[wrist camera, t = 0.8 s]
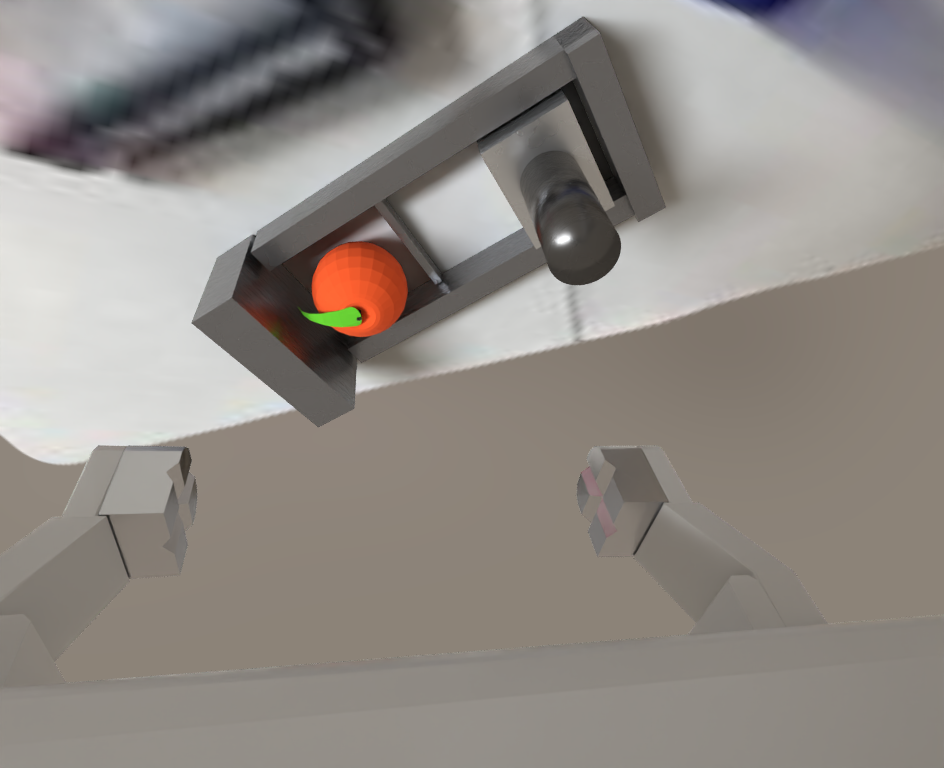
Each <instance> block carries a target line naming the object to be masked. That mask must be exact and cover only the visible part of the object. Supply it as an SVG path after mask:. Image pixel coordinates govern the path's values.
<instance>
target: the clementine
mask: <svg viewBox="0 0 944 768" xmlns="http://www.w3.org/2000/svg"><path fill="white" fill-rule="evenodd" d="M407 294H408V290H407V281H406V277H405V274H404V272H403V269H402V267H401V265H400V264H399V263H398V261H397V260H396V259H395V257H393V256H392V255H391V254H390V253H389V252H387V251H386V250H385V249H384V248H382V247H380V246H377V245H375V244H373V243H368V242H363V241H358V242H348V243H345V244H341V245H339V246H338V247H336V248H334V249H332V250H331V251H329V252H328V253H327V254H326V255H325V256H324V257H323V258H322V259H321V260H320V262H319V264H318V266H317V268H316V270H315V272H314V275H313V279H312V296H313V301H314V305H315V307H316V308H317V310H318V312H319V314H309V313H306V312H303V311H302V310H301V309H300V308H299V307H298V308H299V309H300V311H301V313H302V314H303V315H304V316H305V317H306V318H308V319H309V320H311V321H313V322H316V323H319V324H322V325H326V326H331V327H332V328H334V329H335V330H337V331H339V332H341V333H344V334H347V335H350V336H356V337H366V336H372V335H375V334H379V333H381V332H383V331H385V330H387V329H388V328H389V327H391V326H392V325H393V324H394V323H395V322H396V321H397V319H398V318H399V317H400V315H401V313H402V312H403V310H404V307H405V303H406V299H407Z"/></svg>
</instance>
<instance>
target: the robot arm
mask: <svg viewBox="0 0 944 768" xmlns="http://www.w3.org/2000/svg"><path fill="white" fill-rule="evenodd" d="M587 461H588V463H589V467H588V468H587V469H585V470H584V471H583V472H581V474H580V477H579V480H578V483H577V500H578V505H579V508H580V511H581V514H582V515H583V516H584V517H585V518H587V519H588V520H589V521H590V522H591V525H590V528H589V530H588V533H589V536H590V538H591V541H592V544H593V546H594V549H595V552H596V554H597V557H633V556H634V559H635V560H636V562H637V563H638V564H639V565H640V566H641V567H642V568H643V569H644V570H645V571H646V572H647V573H648V574H649V575H650V576H651V577H652V578H653V579H654V580H655V581H656V582H657V583H658V584H659V585H660V586H661V587H662V588H663V589H664V590H665V591H666V592H667V593H668V594H669V595H670V596H671V597H672V598H673V599H674V600H675V601H676V603H678V605H679V606H680V607H681V608H682V609H683V610H684V611H685V612H686V613H687V614H688V615H689V616H690V617H691V618H692V619H693V620H694V621H695V622H696V624H695V625H694V626H693V628H692V629H691V630H690V632H689V633H688V634H687V635H676V636H664V637H650V638H638V639H625V640H612V641H600V642H586V643H573V644H561V645H548V646H536V647H522V648H509V649H496V650H484V651H471V652H458V653H447V654H432V655H420V656H408V657H395V658H381V659H369V660H355V661H343V662H331V663H317V664H304V665H292V666H279V667H265V668H254V669H253V668H252V669H240V670H227V671H214V672H201V673H188V674H176V675H163V676H150V677H136V678H123V679H111V680H97V681H86V682H71V683H66V682H65V680H64V678H63V676H62V674H61V673H60V671H59V669H58V667H57V666H56V664H55V661H56V660H57V659H58V658H59V656H60V655H61V654H62V653H63V652H64V651H65V650H66V649H67V648H68V647H69V646H70V645H71V644H72V643H73V641H75V640H76V638H77V637H78V636H79V635H80V634H81V633H82V632H83V631H84V630H85V629H86V628H87V627H88V626H89V625H90V624H91V622H92V621H93V620H94V619H95V618H96V617H97V616H98V615H99V614H100V613H101V612H102V611H103V610H104V609H105V607H106V606H107V605H108V604H109V603H110V602H111V601H112V600H113V599H114V598H115V597H116V596H117V595H118V594H119V593H120V591H121V590H122V589H123V588H124V587H125V586H126V585H127V584H128V583H129V579H136V578H150V577H163V576H164V577H165V576H179V575H180V574H181V570H182V566H183V562H184V558H185V554H186V550H187V546H188V543H187V539H186V534H185V531H187V530H188V529H189V528H190V527H191V526H192V525H193V522H194V517H195V513H196V504H197V485H196V479H195V476H193V475H192V474H191V473H190V472H189V469H190V466H191V462H192V459H191V455H190V451H189V448H187V447H168V446H167V447H166V446H163V447H162V446H100V445H98V446H97V447H96V448H95V449H94V450H93V451H92V452H91V454H90V457H89V459H88V461H87V463H86V465H85V467H84V470H83V472H82V474H81V476H80V478H79V480H78V482H77V485H76V487H75V489H74V491H73V493H72V495H71V498H70V500H69V502H68V504H67V506H66V508H65V510H64V513H63V515H62V517H52V518H50V519H49V520H48V521H46V522H45V523H43V524H42V525H41V526H39V527H38V528H36V529H35V530H34V531H32V532H31V533H30V534H28V535H27V536H25V537H24V538H23V539H21V540H20V541H19V542H17V543H16V544H14V545H13V546H12V547H10V548H9V549H7V550H6V551H5V552H3V553H2V554H1V555H0V768H944V615H933V616H920V617H908V618H896V619H882V620H869V621H857V622H844V623H832V624H828V623H827V622H826V620H825V619H824V617H823V616H822V614H821V613H820V611H819V609H818V608H817V606H816V605H815V603H814V602H813V600H812V598H811V597H810V595H809V594H808V592H807V591H806V589H805V588H804V586H803V584H802V583H801V581H800V580H799V578H798V577H797V575H796V574H795V572H794V571H793V570H792V569H790V568H789V567H787V566H786V565H785V564H783V563H782V562H781V561H779V560H778V559H776V558H775V557H774V556H772V555H771V554H770V553H768V552H767V551H765V550H764V549H763V548H761V547H760V546H759V545H757V544H756V543H754V542H753V541H752V540H750V539H749V538H747V537H746V536H745V535H743V534H742V533H741V532H739V531H738V530H736V529H735V528H734V527H732V526H731V525H729V524H728V523H727V522H725V521H724V520H723V519H721V518H720V517H719V516H717V515H716V514H714V513H713V512H712V511H710V510H709V509H707V508H706V507H705V506H703V505H702V504H701V503H699V502H692V500H691V499H690V497H689V495H688V493H687V491H686V489H685V488H684V486H683V484H682V482H681V481H680V479H679V477H678V475H677V473H676V472H675V470H674V468H673V466H672V464H671V463H670V461H669V459H668V457H667V456H666V454H665V452H664V450H663V449H662V448H661V447H659V446H595V447H593V448H592V449H591V450H590V452H589V454H588V456H587Z"/></svg>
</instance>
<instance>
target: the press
mask: <svg viewBox="0 0 944 768" xmlns="http://www.w3.org/2000/svg"><path fill="white" fill-rule="evenodd" d="M570 81H573V83H574V85H575V88H576V90H577V92H578V95H579V97H580V99H581V102H582V104H583V106H584V109H585V111H586V113H587V116H588V118H589V120H590V123H591V125H592V127H593V130H594V132H595V134H596V137H597V139H598V141H599V144H600V146H601V148H602V151H603V153H604V155H605V157H606V160H607V162H608V164H609V167H610V169H611V171H612V174H613V177H612V178H610V179H608V180H606V181H605V184H606V187H607V189H608V191H609V193H610V196H611V198H612V200H613V202H614V205H615V206H614V207H612V208H610V209H609V210H607V211H605V212H606V214H607V216H608V217H609V219H610V221H611V223H612V224H613V226H615V225H617V224H619V223H620V222H622V221H624V220H626V219H628V218H630V217H632V216H633V215H634V216H635V217H636V219H637V220H638V222H639V221H641V220H643V219H645V218H647V217H648V216H650V215H652V214H654V213H656V212H658V211H660V210H662V209H663V208H665V204H664V201H663V199H662V196H661V193H660V191H659V188H658V185H657V183H656V180H655V177H654V175H653V172H652V169H651V167H650V164H649V161H648V159H647V156H646V153H645V151H644V148H643V145H642V143H641V140H640V137H639V135H638V132H637V130H636V127H635V124H634V122H633V119H632V116H631V114H630V111H629V108H628V106H627V103H626V100H625V98H624V95H623V92H622V90H621V87H620V84H619V82H618V79H617V76H616V74H615V71H614V68H613V66H612V63H611V60H610V58H609V55H608V52H607V50H606V47H605V44H604V42H603V39H602V36H601V34H600V32H599V31H598V30H596V29H595V28H594V27H593V26H592V25H591V24H590V23H589V22H588V21H587V20H586V19H585V18H584V17H581V18H580V19H578V20H577V21H575V22H574V23H572V24H571V25H569V26H568V27H566V28H565V29H563V30H562V31H560V32H559V33H557V34H556V35H554V36H553V37H551V38H550V39H548V40H547V41H545V42H544V43H542V44H541V45H539V46H537V47H536V48H534V49H533V50H531V51H530V52H528V53H527V54H525V55H524V56H522V57H521V58H519V59H518V60H516V61H515V62H513V63H512V64H510V65H509V66H507V67H506V68H504V69H503V70H501V71H500V72H498V73H497V74H495V75H494V76H492V77H491V78H489V79H488V80H486V81H484V82H483V83H481V84H480V85H478V86H477V87H475V88H474V89H472V90H471V91H469V92H468V93H466V94H465V95H463V96H462V97H460V98H459V99H457V100H456V101H454V102H453V103H451V104H450V105H448V106H447V107H445V108H444V109H442V110H441V111H439V112H438V113H436V114H434V115H433V116H431V117H430V118H428V119H427V120H425V121H424V122H422V123H421V124H419V125H418V126H416V127H415V128H413V129H412V130H410V131H409V132H407V133H406V134H404V135H403V136H401V137H400V138H398V139H397V140H395V141H394V142H392V143H391V144H389V145H388V146H386V147H384V148H383V149H381V150H380V151H378V152H377V153H375V154H374V155H372V156H371V157H369V158H368V159H366V160H365V161H363V162H362V163H360V164H359V165H357V166H356V167H354V168H353V169H351V170H350V171H348V172H347V173H345V174H344V175H342V176H341V177H339V178H338V179H336V180H334V181H333V182H331V183H330V184H328V185H327V186H325V187H324V188H322V189H321V190H319V191H318V192H316V193H315V194H313V195H312V196H310V197H309V198H307V199H306V200H304V201H303V202H301V203H300V204H298V205H297V206H295V207H294V208H292V209H291V210H289V211H288V212H286V213H285V214H283V215H281V216H280V217H278V218H277V219H275V220H274V221H272V222H271V223H269V224H268V225H266V226H265V227H263V228H262V229H260V230H259V231H258V232H257V235H256V238H255V237H254V236H253V235H251V236H250V237H248V238H247V239H245V240H244V241H242V242H241V243H239V244H238V245H236V246H235V247H233V248H231V249H230V250H228V251H227V252H225V253H224V254H222V255H221V256H219V257H218V258H217V260H216V262H215V265H214V267H213V270H212V272H211V275H210V277H209V280H208V282H207V285H206V287H205V290H204V293H203V295H202V298H201V300H200V303H199V305H198V308H197V310H196V313H195V315H194V318H193V320H192V324H193V325H195V326H196V327H197V328H198V329H199V330H201V331H202V332H203V333H204V334H205V335H207V336H208V337H209V338H210V339H212V340H213V341H214V342H215V343H216V344H218V345H219V346H220V347H221V348H223V349H224V350H225V351H226V352H227V353H229V354H230V355H231V356H232V357H233V358H235V359H236V360H237V361H238V362H240V363H241V364H242V365H243V366H244V367H246V368H247V369H248V370H249V371H250V372H252V373H253V374H254V375H255V376H257V377H258V378H259V379H260V380H261V381H263V382H264V383H265V384H266V385H268V386H269V387H270V388H271V389H272V390H274V391H275V392H276V393H277V394H278V395H280V396H281V397H282V398H283V399H285V400H286V401H287V402H288V403H289V404H291V405H292V406H293V407H294V408H295V409H297V410H298V411H299V412H301V413H302V414H303V415H304V416H305V417H307V418H308V419H309V420H310V421H311V422H313V423H314V424H315V425H316V426H317V427H320V426H322V425H324V424H326V423H328V422H330V421H331V420H333V419H335V418H337V417H339V416H341V415H343V414H345V413H347V412H348V411H351V410H353V409H354V405H355V387H356V370H357V359H358V360H359V361H360V362H361V363H362V362H364V361H366V360H368V359H370V358H372V357H373V356H375V355H377V354H379V353H381V352H383V351H385V350H386V349H388V348H390V347H392V346H394V345H396V344H397V343H399V342H401V341H403V340H405V339H407V338H408V337H410V336H412V335H414V334H416V333H418V332H420V331H421V330H423V329H425V328H427V327H429V326H431V325H432V324H434V323H436V322H438V321H440V320H442V319H444V318H445V317H447V316H449V315H451V314H453V313H455V312H456V311H458V310H460V309H462V308H464V307H466V306H467V305H469V304H471V303H473V302H475V301H477V300H479V299H480V298H482V297H484V296H486V295H488V294H490V293H491V292H493V291H495V290H497V289H499V288H501V287H502V286H504V285H506V284H508V283H510V282H512V281H514V280H515V279H517V278H519V277H521V276H523V275H525V274H526V273H528V272H530V271H532V270H534V269H536V268H538V267H539V266H541V265H543V264H545V263H547V261H546V258H545V255H544V253H543V250H542V247H540V248H538V249H536V248H535V247H534V245H533V243H532V241H531V240H530V238H529V236H528V235H527V233H526V231H525V229H524V228H522V229H520V230H518V231H517V232H515V233H513V234H511V235H510V236H508V237H506V238H504V239H502V240H501V241H499V242H497V243H495V244H494V245H492V246H490V247H488V248H487V249H485V250H483V251H481V252H480V253H478V254H476V255H474V256H473V257H471V258H469V259H467V260H465V261H464V262H462V263H460V264H458V265H457V266H455V267H453V268H451V269H450V270H448V271H446V272H444V273H443V274H441V272H440V271H439V269H438V268H437V267H436V265H435V264H434V263H433V261H432V260H431V259H430V257H429V256H428V255H427V253H426V252H425V251H424V249H423V248H422V247H421V245H420V244H419V243H418V241H417V240H416V239H415V237H414V236H413V235H412V233H411V232H410V231H409V229H408V228H407V227H406V225H405V224H404V223H403V221H402V220H401V219H400V217H399V216H398V215H397V213H396V212H395V211H394V209H393V208H392V207H391V205H390V204H389V203H388V201H387V200H386V199H385V198H386V197H388V196H390V195H391V194H393V193H394V192H396V191H398V190H399V189H401V188H402V187H404V186H405V185H407V184H409V183H410V182H412V181H413V180H415V179H417V178H418V177H420V176H421V175H423V174H424V173H426V172H428V171H429V170H431V169H432V168H434V167H436V166H437V165H439V164H440V163H442V162H444V161H445V160H447V159H448V158H450V157H451V156H453V155H455V154H456V153H458V152H459V151H461V150H463V149H464V148H466V147H467V146H469V145H470V144H472V143H474V142H475V141H477V140H478V139H480V138H482V137H483V136H485V135H486V134H488V133H490V132H491V131H493V130H494V129H496V128H497V127H499V126H501V125H502V124H504V123H505V122H507V121H509V120H510V119H512V118H513V117H515V116H516V115H518V114H520V113H521V112H523V111H524V110H526V109H528V108H529V107H531V106H532V105H534V104H536V103H537V102H539V101H540V100H542V99H543V98H545V97H547V96H548V95H550V94H551V93H553V92H555V91H556V90H558V89H559V88H561V87H562V86H564V85H566V84H567V83H569V82H570ZM372 206H375V207H376V208H377V210H378V211H379V212H380V214H381V215H382V216H383V217H384V219H385V220H386V221H387V223H388V224H389V225H390V226H391V228H392V229H393V230H394V232H395V233H396V234H397V236H398V237H399V238H400V239H401V241H402V242H403V243H404V245H405V246H406V247H407V249H408V250H409V251H410V252H411V254H412V255H413V256H414V258H415V259H416V260H417V261H418V263H419V264H420V265H421V267H422V268H423V269H424V271H425V272H426V273H427V274H428V276H429V277H430V278H431V280H430V281H429V282H427V283H425V284H423V285H421V286H420V287H418V288H416V289H414V290H413V291H411V292H409V293H408V294H407V299H406V303H405V307H404V310H403V312H402V313H401V315H400V317H399V318H398V319H397V321H396V322H395V323H394V324H393V325H392V326H391V327H389V328H388V329H387V330H385V331H383V332H381V333H379V334H375V335H372V336H366V337H356V336H350V335H347V334H344V333H341V332H339V331H337V330H335V329H334V328H332V327H331V326H326V325H322V324H319V323H316V322H313V321H311V320H309V319H308V318H306V317H305V316H304V315H303V314H302V313H301V311H300V309H301V310H302V311H303V312H306V313H309V314H319V312H318V310H317V308H316V307H315V305H314V301H313V296H312V295H311V294H310V293H309V292H308V291H307V290H306V289H305V288H304V287H303V286H302V285H301V284H300V283H299V282H298V281H297V280H296V279H295V278H294V277H293V276H292V275H291V274H290V273H289V272H288V270H287V269H286V268H285V267H284V266H283V265H282V263H283V262H285V261H286V260H288V259H290V258H291V257H293V256H294V255H296V254H298V253H299V252H301V251H302V250H304V249H306V248H307V247H309V246H310V245H312V244H313V243H315V242H317V241H318V240H320V239H321V238H323V237H325V236H326V235H328V234H329V233H331V232H332V231H334V230H336V229H337V228H339V227H340V226H342V225H344V224H345V223H347V222H348V221H350V220H352V219H353V218H355V217H356V216H358V215H359V214H361V213H363V212H364V211H366V210H367V209H369V208H371V207H372ZM298 307H299V308H300V309H299V308H298Z"/></svg>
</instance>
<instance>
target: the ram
mask: <svg viewBox="0 0 944 768" xmlns="http://www.w3.org/2000/svg"><path fill="white" fill-rule="evenodd" d="M477 144H478V147H479V151H480V154H481V156H482V158H483V160H484V161H485V163H486V165H487V166H488V168H489V170H490V172H491V173H492V175H493V177H494V178H495V180H496V182H497V183H498V185H499V187H500V189H501V190H502V192H503V194H504V195H505V197H506V199H507V200H508V202H509V204H510V206H511V207H512V209H513V211H514V212H515V214H516V216H517V218H518V219H519V221H520V223H521V224H522V226H523V228H524V229H525V231H526V233H527V235H528V236H529V238H530V240H531V241H532V243H533V245H534V247H535V248H536V249H538V248H540V247H542V250H543V253H544V255H545V258H546V261H547V264H548V266H549V269H550V271H551V273H552V274H553V275H554V276H555V277H556V278H557V279H558V280H560V281H561V282H563V283H566V284H570V285H585V284H589V283H592V282H595V281H597V280H599V279H600V278H602V277H603V276H605V275H606V274H607V273H608V272H609V271H610V270H611V269H612V268H613V267H614V265H615V264H616V262H617V260H618V258H619V255H620V251H621V241H620V238H619V235H618V233H617V231H616V230H615V228H614V226H613V224H612V223H611V221H610V219H609V217H608V216H607V214H606V212H605V211H607V210H609V209H610V208H612V207H614V206H615V205H614V202H613V200H612V198H611V196H610V193H609V191H608V189H607V187H606V184H605V182H604V180H603V178H602V175H601V173H600V171H599V169H598V166H597V164H596V162H595V160H594V157H593V155H592V153H591V151H590V148H589V146H588V144H587V142H586V139H585V137H584V135H583V133H582V130H581V128H580V126H579V124H578V121H577V119H576V117H575V115H574V112H573V110H572V108H571V106H570V103H569V101H568V99H567V98H566V96H565V95H564V93H563V92H562V90H561V89H560V88H559V89H558V90H556V91H555V92H553V93H551V94H550V95H548V96H547V97H545V98H543V99H542V100H540V101H539V102H537V103H536V104H534V105H532V106H531V107H529V108H528V109H526V110H524V111H523V112H521V113H520V114H518V115H516V116H515V117H513V118H512V119H510V120H509V121H507V122H505V123H504V124H502V125H501V126H499V127H497V128H496V129H494V130H493V131H491V132H490V133H488V134H486V135H485V136H483V137H482V138H480V139H478V140H477Z"/></svg>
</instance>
